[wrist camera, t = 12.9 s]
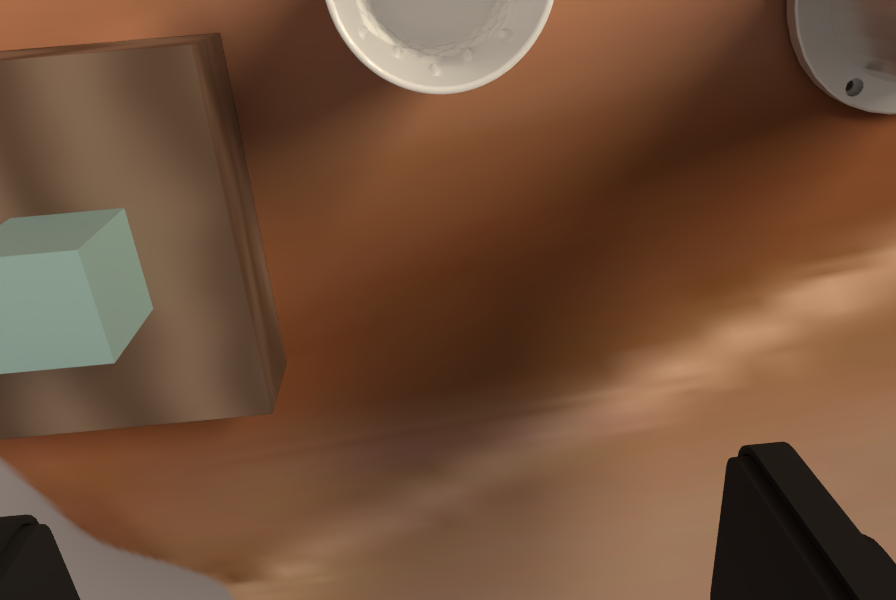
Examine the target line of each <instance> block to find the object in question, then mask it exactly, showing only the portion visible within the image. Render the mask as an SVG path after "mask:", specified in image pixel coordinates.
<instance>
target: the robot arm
mask: <svg viewBox="0 0 896 600" xmlns="http://www.w3.org/2000/svg"><path fill="white" fill-rule="evenodd" d="M787 23H788V29H789V34H790V39H791V44H792V46H793V49H794V51H795V54H796V56H797V58H798V61H799V63H800V65H801V67H802V68H803V69H804V71H805V72H806V74H807V75H808V76H809V78H810V79H811V80H812V82H813V83H814V84H815V85H816V86H818V87H819V88H820V89H821V90H822V91H824V92H825V93H826V94H827V95H828V96H829V97H831V98H833V99H836V100H838V101H840V102H842V103H844V104H846V105H848V106H851V107H854V108H857V109H861V110H864V111H867V112H873V113H882V114H896V0H787ZM847 83H848V86H847ZM846 86H847V87H846ZM0 600H80V598H79V596H78V593H77V591H76V589H75V586H74V584H73V581H72V579H71V577H70V574H69V572H68V570H67V567H66V565H65V563H64V560H63V558H62V555H61V553H60V551H59V548H58V546H57V544H56V541H55V539H54V536H53V534H52V532H51V530H50V528H49V527H48V526H47V525H45V524H39V523H38V521H37V519H36V518H34V517H33V516H32V515H18V516H7V517H0ZM710 600H896V564H895V562H894V561H893V560H892V559H891V558H890V556H889V555H888V554H887V553H886V551H885V550H884V549H883V548H882V547H881V546H880V545H879V544H878V543H877V542H876V541H875V540H874V539H872V538H870V537H868V536H866V535H864V534H861V532H860V531H859V530H858V529H857V527H856V526H855V525H854V524H853V522H852V521H851V520H850V519H849V517H848V516H847V515H846V514H845V512H844V511H843V510H842V509H841V507H840V506H839V505H838V504H837V502H836V501H835V500H834V499H833V497H832V496H831V495H830V494H829V492H828V491H827V490H826V489H825V487H824V486H823V485H822V484H821V482H820V481H819V480H818V479H817V477H816V476H815V475H814V474H813V472H812V471H811V470H810V468H809V467H808V466H807V465H806V463H805V462H804V461H803V460H802V458H801V457H800V456H799V455H798V453H797V452H796V451H795V450H794V448H793V447H792V446H790V445H789V444H788V443H786V442H775V443H765V444H754V445H745V446H742V447H741V449H740V450H739V453H738V457H732V458H729V460H728V462H727V466H726V474H725V482H724V490H723V498H722V506H721V514H720V522H719V529H718V537H717V545H716V553H715V561H714V569H713V577H712V585H711V593H710Z"/></svg>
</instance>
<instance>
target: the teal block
mask: <svg viewBox="0 0 896 600" xmlns="http://www.w3.org/2000/svg"><path fill="white" fill-rule="evenodd" d="M152 310H153V306H152V302H151V299H150V296H149V292H148V289H147V285H146V282H145V278H144V275H143V271H142V268H141V264H140V261H139V258H138V254H137V251H136V247H135V244H134V240H133V237H132V233H131V230H130V226H129V223H128V219H127V216H126V213H125V209H124V208H118V209H107V210H96V211H85V212H74V213H63V214H51V215H40V216H29V217H18V218H10V219H8V220H7V221H5V222H4V223H2V224H1V225H0V374H6V373H17V372H27V371H38V370H49V369H59V368H70V367H80V366H91V365H102V364H112V363H115V362H116V361H117V359H118V358H119V357H120V355H121V354H122V352H123V351H124V349H125V348H126V347H127V345H128V344H129V342H130V341H131V340H132V338H133V337H134V335H135V334H136V333H137V331H138V330H139V328H140V327H141V325H142V324H143V323H144V321H145V320H146V318H147V317H148V316H149V314H150V313H151V311H152Z"/></svg>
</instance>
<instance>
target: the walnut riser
mask: <svg viewBox="0 0 896 600" xmlns="http://www.w3.org/2000/svg"><path fill="white" fill-rule="evenodd" d="M118 208H124V209H125V213H126V216H127V219H128V223H129V226H130V230H131V233H132V237H133V240H134V244H135V247H136V251H137V254H138V258H139V261H140V264H141V268H142V271H143V275H144V278H145V282H146V285H147V289H148V292H149V296H150V299H151V302H152V306H153V310H152V311H151V313H150V314H149V316H148V317H147V318H146V320H145V321H144V323H143V324H142V325H141V327H140V328H139V330H138V331H137V333H136V334H135V335H134V337H133V338H132V340H131V341H130V342H129V344H128V345H127V347H126V348H125V349H124V351H123V352H122V354H121V355H120V357H119V358H118V359H117V361H116V362H115V363H112V364H102V365H91V366H80V367H70V368H59V369H49V370H38V371H27V372H17V373H6V374H0V439H10V438H20V437H31V436H41V435H52V434H63V433H73V432H84V431H95V430H105V429H116V428H127V427H137V426H148V425H159V424H169V423H180V422H190V421H201V420H212V419H222V418H233V417H244V416H254V415H265V414H272V413H273V409H274V406H275V402H276V399H277V395H278V392H279V388H280V385H281V381H282V378H283V374H284V371H285V367H286V359H285V354H284V349H283V344H282V339H281V334H280V329H279V324H278V319H277V314H276V309H275V304H274V299H273V294H272V289H271V284H270V279H269V274H268V269H267V264H266V259H265V254H264V250H263V245H262V240H261V235H260V230H259V225H258V220H257V215H256V210H255V205H254V200H253V195H252V190H251V185H250V180H249V175H248V170H247V165H246V160H245V155H244V150H243V145H242V140H241V135H240V130H239V125H238V120H237V115H236V110H235V105H234V101H233V96H232V91H231V86H230V81H229V76H228V71H227V66H226V61H225V56H224V51H223V46H222V41H221V36H220V33H214V34H202V35H190V36H178V37H166V38H154V39H141V40H129V41H117V42H105V43H93V44H81V45H69V46H57V47H45V48H32V49H20V50H8V51H0V225H1V224H2V223H4V222H5V221H7V220H8V219H10V218H18V217H29V216H40V215H51V214H63V213H74V212H85V211H96V210H107V209H118Z"/></svg>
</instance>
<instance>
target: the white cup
mask: <svg viewBox="0 0 896 600" xmlns="http://www.w3.org/2000/svg"><path fill="white" fill-rule="evenodd" d="M325 1H326V4H327V7H328V10H329V13H330V16H331V18H332V20H333V22H334V25H335V27H336V29H337V30H338V32H339V34H340V36H341V37H342V39H343V40H344V42H345V43H346V45H347V46H348V47H349V49H350V50H351V51H352V52H353V53H354V55H355V56H356V57H357V58H358V59H359V60H360V61H361V62H362V63H363V64H364V65H365V66H367V67H368V68H369V69H370V70H371V71H373V72H374V73H375V74H377V75H378V76H380V77H382V78H383V79H385V80H387V81H389V82H390V83H392V84H395V85H397V86H399V87H402V88H405V89H408V90H411V91H415V92H420V93H426V94H454V93H460V92H465V91H469V90H472V89H475V88H478V87H480V86H483V85H485V84H487V83H489V82H491V81H493V80H495V79H497V78H498V77H500V76H501V75H503V74H504V73H506V72H507V71H508V70H509V69H511V68H512V67H513V66H514V65H515V64H516V63H517V62H519V61H520V60H521V58H522V57H523V56H524V55H525V54H526V53H527V52H528V51H529V49H530V48H531V47H532V45H533V44H534V42H535V41H536V39H537V38H538V36H539V35H540V33H541V31H542V29H543V27H544V25H545V23H546V21H547V19H548V16H549V14H550V11H551V8H552V5H553V1H554V0H325Z"/></svg>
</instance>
